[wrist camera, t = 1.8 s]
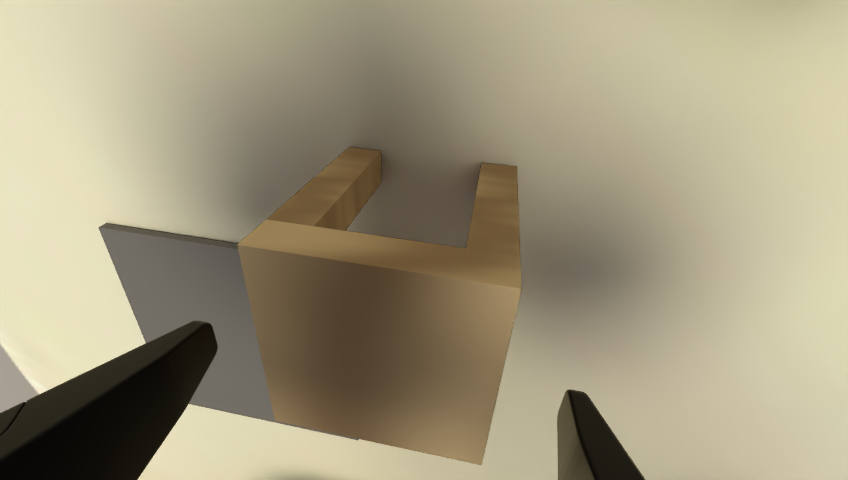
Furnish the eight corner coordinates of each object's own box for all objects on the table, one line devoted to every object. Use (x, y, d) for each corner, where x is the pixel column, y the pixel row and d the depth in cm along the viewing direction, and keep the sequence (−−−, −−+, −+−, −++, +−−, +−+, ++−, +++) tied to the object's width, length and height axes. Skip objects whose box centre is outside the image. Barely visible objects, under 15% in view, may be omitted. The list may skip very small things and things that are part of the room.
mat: (353, 261, 17) (350, 266, 17) (360, 433, 23) (358, 440, 23) (105, 223, 19) (98, 227, 18) (173, 394, 25) (169, 399, 24)
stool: (516, 166, 14) (521, 288, 8) (491, 302, 17) (481, 465, 11) (349, 147, 15) (236, 244, 9) (354, 280, 18) (274, 420, 12)
